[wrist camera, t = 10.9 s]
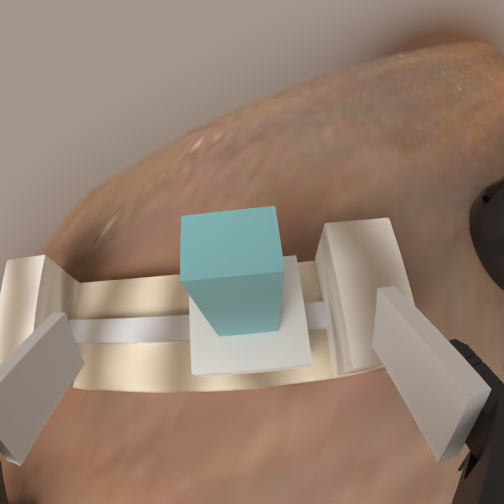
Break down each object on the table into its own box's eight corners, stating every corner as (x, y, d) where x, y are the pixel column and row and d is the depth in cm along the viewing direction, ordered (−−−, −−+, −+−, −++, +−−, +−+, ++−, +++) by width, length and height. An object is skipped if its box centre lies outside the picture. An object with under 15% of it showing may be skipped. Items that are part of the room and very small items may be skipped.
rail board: (361, 260, 29) (387, 213, 22) (383, 368, 24) (425, 352, 17) (53, 289, 29) (8, 256, 22) (45, 384, 24) (-9, 370, 17)
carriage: (293, 271, 26) (309, 160, 14) (307, 368, 22) (348, 328, 11) (196, 280, 26) (144, 179, 14) (200, 377, 22) (130, 347, 11)
